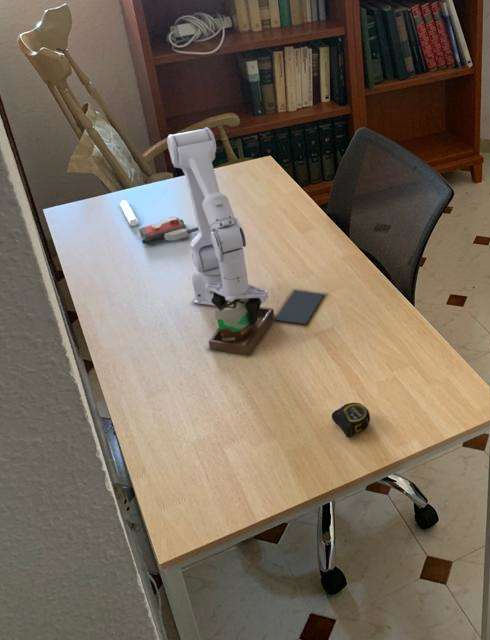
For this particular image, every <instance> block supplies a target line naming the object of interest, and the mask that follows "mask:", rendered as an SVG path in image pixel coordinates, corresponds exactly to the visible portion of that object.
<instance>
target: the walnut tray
mask: <svg viewBox="0 0 490 640" xmlns="http://www.w3.org/2000/svg"><path fill="white" fill-rule="evenodd" d="M258 317H261V318H263V319H262V320H261V322H260V323H259V324H258V326H257V327H256V329H255V330H254V331H253V333H251V335H250V336H249V338H248V340H247V341H246V343H245V344H242V343H238V342H235V343H230V342H224V341H222V337H221V333H220V329H219V327H218V329H217V330H216V331H215V332H214V334H213V335H212V336H211V337H210V339H208V344H209V349H210V351H218V352H223V353H229V354H236V355H243V356H249V354H250V353H251V351H252V350H253V349H254V347H255V346H256V345H257V344H258V341H259V340H260V338H261V337H262V336H263V334H264V333H265V331H267V329H268V327H269V326H270V324H271V323H272V321H273V320H274V319H275V318H276V317H275V309H274V308H272V307H265V306H260V308H259V312H258Z"/></svg>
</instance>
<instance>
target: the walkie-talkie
mask: <svg viewBox="0 0 490 640" xmlns="http://www.w3.org/2000/svg"><path fill="white" fill-rule="evenodd" d="M138 230H139V235H140V238H141V239H142V240H141V243H142V244H143V245H154V244H157V243H161V242H164V241H177V240H180V239H183V238H188V237H189V235H190V234H192V233H195V232H199V230H198V226H196V227H193V228H187V225H186V224H185V222H184V220H183V219H180V218H179V217H176V216H171V217H168V218H163V219H161V220H160V221H158V222H157V223H156V222H155V223H151V224H150V225H149V224H148V225H146V226H142V227H140V228H139V229H138Z"/></svg>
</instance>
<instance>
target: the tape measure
mask: <svg viewBox="0 0 490 640" xmlns="http://www.w3.org/2000/svg"><path fill="white" fill-rule="evenodd" d="M331 419H332V422H334V423H335V424H336V425H337V426H338V427H339V429H341V431H342V432H343V433H344V435H345V437H346V438H348V439H351V438H352V437H354V436H355V434H361V433H363V432H364V431H366V429H367V428H368V426H370V421H371V414H370V410H369V409H368V408H367V407H366V406H365V404H362V403H360V402H348V403H346V404H344V405H342V406H341V407H340V408H338V409H336V410H334V411H333V412H332V413H331Z"/></svg>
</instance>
